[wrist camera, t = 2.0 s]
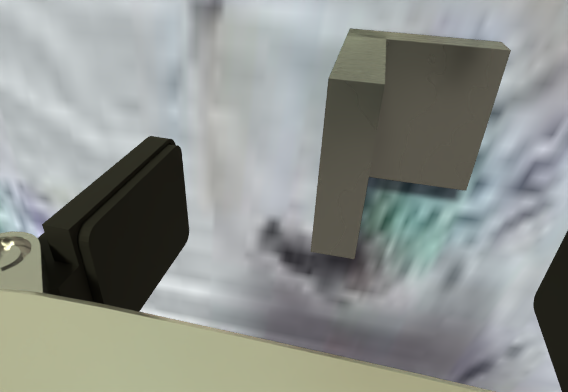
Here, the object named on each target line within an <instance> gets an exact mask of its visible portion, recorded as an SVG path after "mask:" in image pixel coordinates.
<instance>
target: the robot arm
mask: <svg viewBox="0 0 568 392" xmlns="http://www.w3.org/2000/svg"><path fill="white" fill-rule="evenodd" d="M42 226H43V229H44V233H43V234H42V235H41V236H40V237H39V238H36V237H35V236H34V235H32V234H29V233H26V232H13V231H12V232H5V233H0V392H495V391H491V390H487V389H482V388H478V387H474V386H469V385H465V384H461V383H456V382H452V381H448V380H443V379H439V378H435V377H430V376H426V375H422V374H417V373H413V372H408V371H404V370H399V369H395V368H391V367H386V366H382V365H377V364H373V363H368V362H364V361H360V360H355V359H351V358H346V357H342V356H337V355H333V354H329V353H324V352H320V351H315V350H311V349H306V348H302V347H297V346H293V345H288V344H284V343H279V342H275V341H270V340H266V339H262V338H257V337H252V336H248V335H243V334H239V333H234V332H230V331H225V330H220V329H216V328H211V327H207V326H202V325H198V324H193V323H188V322H184V321H179V320H175V319H170V318H166V317H161V316H157V315H152V314H147V313H143V312H139V311H140V310H141V308H142V307H143V305H144V304H145V302H146V301H147V300H148V298H149V297H150V295H151V294H152V292H153V291H154V289H155V288H156V286H157V285H158V283H159V282H160V281H161V279H162V278H163V276H164V275H165V273H166V272H167V270H168V269H169V267H170V266H171V264H172V263H173V262H174V260H175V259H176V257H177V256H178V254H179V253H180V251H181V250H182V248H183V247H184V246H185V244H186V242H187V240H188V236H189V224H188V213H187V203H186V193H185V182H184V172H183V161H182V152H181V148H180V147H179V146H176V145H175V142H174V141H173V140H172V139H167V138H160V137H153V136H150V137H148V138H146V139H145V140H144V141H143V142H142V143H140V144H139V145H138V146H137V147H136V148H134V149H133V150H132V151H131V152H129V153H128V154H127V155H126V156H125V157H123V158H122V159H121V160H120V161H119V162H117V163H116V164H115V165H114V166H113V167H111V168H110V169H109V170H108V171H106V172H105V173H104V174H103V175H102V176H100V177H99V178H98V179H97V180H96V181H94V182H93V183H92V184H91V185H90V186H88V187H87V188H86V189H85V190H83V191H82V192H81V193H80V194H79V195H77V196H76V197H75V198H74V199H73V200H71V201H70V202H69V203H68V204H66V205H65V206H64V207H63V208H62V209H60V210H59V211H58V212H57V213H56V214H54V215H53V216H52V217H51V218H50V219H48V220H47V221H46V222H45V223H43V224H42ZM534 311H535V314H536V317H537V320H538V323H539V326H540V329H541V332H542V334H543V337H544V340H545V343H546V346H547V349H548V352H549V355H550V358H551V361H552V364H553V367H554V369H555V372H556V375H557V378H558V381H559V384H560V387H561V390H562V392H568V231H567V233H566V235H565V237H564V239H563V241H562V243H561V245H560V247H559V249H558V251H557V253H556V255H555V257H554V259H553V261H552V263H551V265H550V267H549V269H548V271H547V273H546V275H545V277H544V278H543V280H542V282H541V284H540V286H539V288H538V290H537V292H536V295H535V298H534Z"/></svg>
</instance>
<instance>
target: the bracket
mask: <svg viewBox="0 0 568 392" xmlns="http://www.w3.org/2000/svg"><path fill="white" fill-rule="evenodd" d="M510 51H511V50H510V49H509V48H508V47H507V46H505V45H504V44H503V43H502V42H496V41H485V40H474V39H462V38H451V37H440V36H429V35H418V34H406V33H395V32H384V31H373V30H362V29H350V30H349V32H348V34H347V37H346V39H345V41H344V44H343V46H342V48H341V51H340V53H339V55H338V58H337V60H336V62H335V65H334V67H333V69H332V72H331V74H330V76H329V79H328V89H327V99H326V108H325V118H324V128H323V137H322V147H321V157H320V166H319V176H318V186H317V196H316V205H315V215H314V225H313V234H312V244H311V252H316V253H321V254H327V255H333V256H339V257H345V258H351V259H355V253H356V247H357V241H358V236H359V230H360V224H361V218H362V213H363V207H364V201H365V196H366V190H367V184H368V178H369V177H373V178H380V179H388V180H395V181H402V182H409V183H416V184H423V185H430V186H437V187H444V188H452V189H459V190H466V189H467V186H468V183H469V180H470V177H471V174H472V171H473V167H474V164H475V161H476V158H477V155H478V152H479V149H480V145H481V142H482V139H483V136H484V133H485V130H486V127H487V123H488V120H489V117H490V114H491V111H492V108H493V105H494V101H495V98H496V95H497V92H498V89H499V86H500V83H501V79H502V76H503V73H504V70H505V67H506V64H507V61H508V57H509V54H510Z"/></svg>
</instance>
